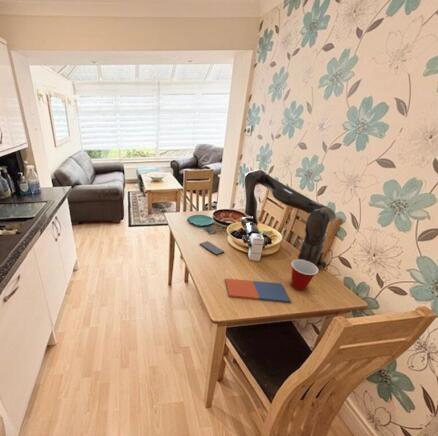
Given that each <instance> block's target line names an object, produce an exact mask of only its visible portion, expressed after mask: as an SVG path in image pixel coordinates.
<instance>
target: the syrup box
mask: <svg viewBox="0 0 438 436" xmlns="http://www.w3.org/2000/svg"><path fill="white" fill-rule="evenodd" d="M264 238H265V237H264V235H263V234H262V233H260V234H252V235H251V243H252V246H251V247H250V246H248V247H249V248H248V252H247V256H248V259H249V261H255V262H260V261H261V257H262V252H263V249H262V248H263V242H264Z"/></svg>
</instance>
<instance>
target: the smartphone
mask: <svg viewBox="0 0 438 436" xmlns="http://www.w3.org/2000/svg"><path fill="white" fill-rule="evenodd" d="M199 245H200V246H201V247H203V248H204V249H205V250H207V251H209V252H210V253H212V254H214V256H218V255H221V254H224V253H225V250H223V249H221V248H220V247H218V246H217V245H215V244H213V243H212V242H210V241H208V240H206V241H204V242H200V243H199Z"/></svg>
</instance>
